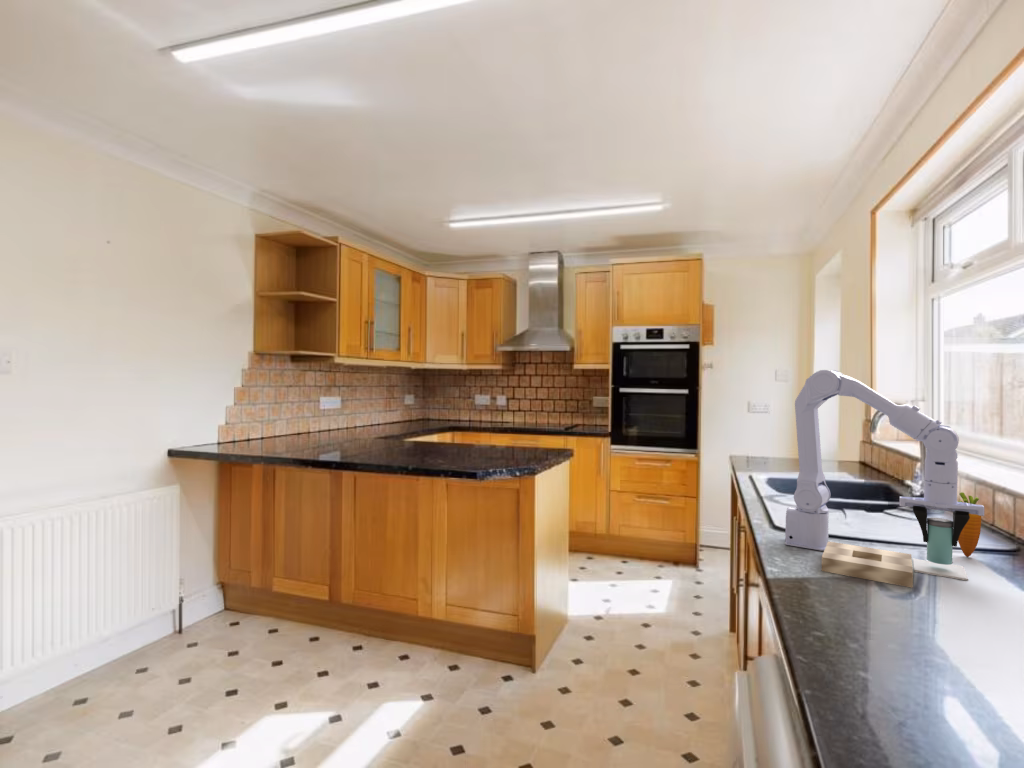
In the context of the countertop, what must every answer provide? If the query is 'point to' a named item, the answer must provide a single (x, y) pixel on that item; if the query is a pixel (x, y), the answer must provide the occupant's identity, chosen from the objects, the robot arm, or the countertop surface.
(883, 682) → the countertop surface
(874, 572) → the tan board with hole
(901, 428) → the robot arm
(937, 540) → the plug
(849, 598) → the countertop surface
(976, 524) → the carrot
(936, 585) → the countertop surface
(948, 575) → the mat
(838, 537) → the countertop surface
